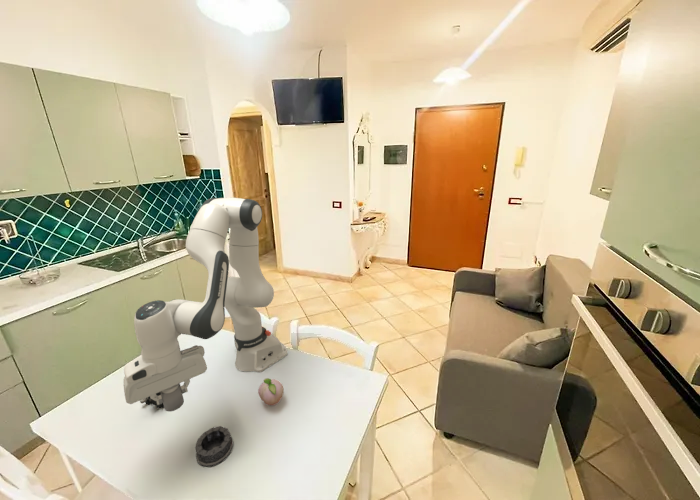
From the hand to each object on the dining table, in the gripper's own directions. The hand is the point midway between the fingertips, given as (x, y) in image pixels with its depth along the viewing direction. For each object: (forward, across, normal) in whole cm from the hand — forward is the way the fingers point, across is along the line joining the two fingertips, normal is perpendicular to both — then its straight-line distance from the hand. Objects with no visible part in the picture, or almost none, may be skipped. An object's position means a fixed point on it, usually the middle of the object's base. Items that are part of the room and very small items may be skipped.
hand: (172, 397), depth 86 cm
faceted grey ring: (+19, -7, +8) cm, 22 cm away
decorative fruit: (+19, -29, +3) cm, 35 cm away
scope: (+19, +3, -24) cm, 31 cm away
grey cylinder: (+3, 0, 0) cm, 3 cm away
